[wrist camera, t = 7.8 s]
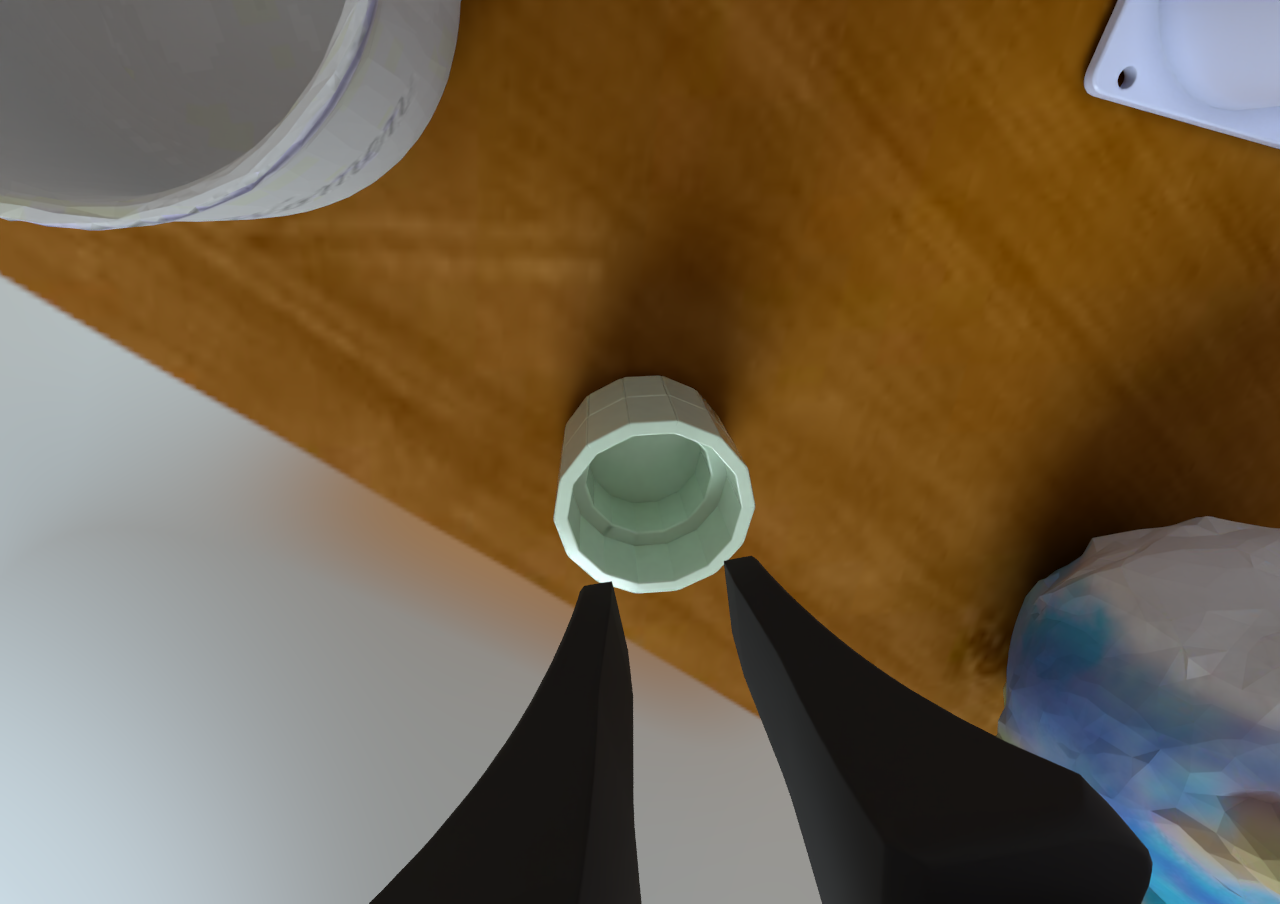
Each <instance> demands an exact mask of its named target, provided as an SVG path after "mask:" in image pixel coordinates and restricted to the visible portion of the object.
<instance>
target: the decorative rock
mask: <svg viewBox="0 0 1280 904" xmlns="http://www.w3.org/2000/svg"><path fill="white" fill-rule="evenodd" d="M1003 692H1004V710H1003V712H1002V714H1001V716H1000V718H999V720H998V734H997V735H996V737H998V738H1000V739H1002V740H1004V741H1006V742H1008V743H1010V744H1012V745H1015V746H1017V747H1019V748H1022V749H1024V750H1026V751H1028V752H1031V753H1033V754H1035V755H1037V756H1040V757H1042V758H1044V759H1047V760H1049V761H1051V762H1053V763H1056V764H1058V765H1060V766H1063V767H1065V768H1067V769H1069V770H1072V771H1074V772H1076V773H1078V774H1080V775H1081V776H1082V777H1083V778H1084V779H1085V780H1086V781H1087V782H1088V783H1089V785H1090V786H1091V787H1092V788H1093V789H1094V790H1096V791H1097V792H1098V793H1099V794H1100V795H1101V796H1102V797H1103V798H1104V799H1105V800H1106V801H1107V802H1108V803H1109V805H1110V806H1111V807H1112V808H1113V809H1114V810H1115V811H1116V812H1117V813H1118V815H1119V816H1120V817H1121V818H1122V819H1123V820H1124V821H1125V823H1126V824H1127V825H1128V826H1129V827H1130V829H1131V830H1132V831H1133V832H1134V833H1135V835H1136V836H1137V837H1138V838H1139V839H1140V840H1141V842H1142V843H1143V844H1144V845H1145V846H1146V848H1147V849H1148V851H1149V854H1150V856H1151V859H1152V862H1153V865H1152V874H1151V879H1150V884H1149V887H1148V889H1147V891H1146V894H1145V896H1144V898H1143V901H1142V903H1141V904H1280V529H1278V528H1268V527H1262V526H1256V525H1251V524H1245V523H1239V522H1234V521H1229V520H1224V519H1219V518H1215V517H1209V516H1205V517H1196V518H1193V519H1190V520H1187V521H1184V522H1181V523H1178V524H1175V525H1171V526H1166V527H1160V528H1148V529H1138V530H1133V531H1128V532H1122V533H1117V534H1111V535H1106V536H1101V537H1095V538H1092V539H1091V541H1090V543H1089V545H1088V546H1087V548H1086V550H1085V552H1084V553H1083V554H1082V556H1081V557H1079V558H1078V559H1076V560H1075V561H1073V562H1072V563H1070V564H1069V565H1067V566H1065V567H1062V568H1060V569H1058V570H1056V571H1054V572H1053V573H1052V574H1051V575H1049V576H1048V577H1047V578H1045V579H1042V580H1039V581H1038V582H1037V583H1036V585H1035V586H1034V587H1033V588H1032V589H1031V591H1030V592H1029V593H1028V594H1027V595H1026V597H1025V599H1024V602H1023V604H1022V607H1021V609H1020V612H1019V615H1018V617H1017V620H1016V623H1015V626H1014V630H1013V634H1012V638H1011V643H1010V649H1009V655H1008V664H1007V681H1006V683H1005V686H1004V688H1003Z"/></svg>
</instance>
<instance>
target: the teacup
mask: <svg viewBox="0 0 1280 904" xmlns="http://www.w3.org/2000/svg"><path fill="white" fill-rule="evenodd" d="M460 1H462V0H0V218H3V219H6V220H9V221H27V222H31V223H35V224H40V225H44V226H49V227H65V228H77V229H84V230H108V229H118V228H127V227H137V226H149V225H156V224H162V223H168V222H173V221H192V222H200V221H224V220H247V219H259V218H269V217H279V216H287V215H292V214H297V213H302V212H307V211H311V210H314V209H318V208H321V207H324V206H327V205H330V204H332V203H335V202H337V201H340V200H343V199H345V198H348V197H350V196H352V195H353V194H355V193H357V192H358V191H360V190H362V189H364V188H365V187H367V186H369V185H371V184H372V183H374V182H375V181H376V180H378V179H379V178H380V177H381V176H383V175H384V174H385V173H386V172H387V171H389V170H390V169H391V168H392V167H393V166H394V165H396V164H397V163H398V162H399V161H400V160H401V159H402V158H403V157H404V155H405V154H406V153H407V152H408V151H409V149H410V148H411V147H412V146H413V145H414V143H415V142H416V141H417V140H418V139H419V137H420V136H421V134H422V132H423V131H424V129H425V128H426V126H427V124H428V123H429V121H430V119H431V117H432V115H433V113H434V111H435V110H436V107H437V105H438V103H439V101H440V99H441V97H442V94H443V91H444V89H445V86H446V83H447V81H448V78H449V73H450V69H451V65H452V60H453V56H454V52H455V48H456V41H457V35H458V28H459V20H460Z"/></svg>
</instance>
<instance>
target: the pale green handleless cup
mask: <svg viewBox="0 0 1280 904" xmlns="http://www.w3.org/2000/svg"><path fill="white" fill-rule="evenodd" d="M754 509H755V502H754V496H753V491H752V486H751V481H750V476H749V470H748V468H747V466H746V464H745V462H744V461H743V459H742V457H741V455H740V453H739V452H738V450H737V448H736V446H735V445H734V443H733V441H732V439H731V438H730V436H729V434H728V432H727V431H726V429H725V427H724V425H723V423H722V422H721V420H720V418H719V416H718V415H717V414H716V412H715V411H714V410H713V409H712V408H711V407H710V405H709V404H708V403H707V402H706V401H705V399H704V398H703V397H702V396H701V395H700V394H699V392H698V391H696V390H695V389H693V388H691V387H688V386H686V385H684V384H681V383H679V382H676V381H674V380H672V379H669V378H667V377H664V376H639V377H624V378H623V379H618V380H616V381H614V382H612V383H611V384H609V385H607V386H605V387H603V388H601V389H599V390H597V391H595V392H593V393H591V394H590V395H589V396H587V397H586V398H585V399H584V401H583V402H582V403H581V405H580V406H579V407H578V409H577V410H576V411H575V413H574V414H573V415H572V417H571V418H570V419H569V421H568V422H567V424H566V426H565V432H564V439H563V445H562V452H561V458H560V467H559V475H558V484H557V492H556V500H555V509H554V517H553V518H554V523H555V525H556V528H557V530H558V533H559V536H560V538H561V541H562V543H563V546H564V549H565V551H566V554H567V555H568V557H569V558H571V559H572V560H573V561H574V562H575V563H576V564H577V565H579V566H580V567H581V568H582V569H583V570H584V571H586V572H587V573H588V574H589V575H590V576H591V577H592V578H594V579H595V580H596V581H598V582H600V583H604V582H610V581H612V584H613V587H617V588H620V589H623V590H626V591H630V592H633V593H650V592H663V591H676V590H677V589H678V590H680V589H682V588H684V587H686V586H688V585H691V584H693V583H695V582H697V581H699V580H702V579H704V578H706V577H708V576H710V575H712V574H714V573H715V572H717V571H718V570H719V569H720V568H721V567H722V566H723V565H724V561H726V560H728V559H729V558H730V557H731V556H732V555H733V554H734V553H735V552H736V551H737V550H738V549H739V548H740V547H741V546H742V544H743V543H744V540H745V537H746V533H747V530H748V527H749V524H750V521H751V518H752V515H753V512H754Z"/></svg>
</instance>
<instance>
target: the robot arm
mask: <svg viewBox="0 0 1280 904" xmlns="http://www.w3.org/2000/svg"><path fill="white" fill-rule="evenodd" d="M1122 71H1123V72H1124V76H1125V77H1124V81H1123V83H1122V85H1121V86H1120V87H1119V85H1118V78H1119V75H1120V73H1121V72H1122ZM1084 87H1085V89H1086V91H1087V93H1088V94H1090V95H1092V96H1094V97H1098V98H1101V99H1105V100H1108V101H1112V102H1115V103H1119V104H1122V105H1126V106H1129V107H1133V108H1136V109H1140V110H1143V111H1147V112H1151V113H1154V114H1158V115H1161V116H1165V117H1168V118H1172V119H1175V120H1179V121H1182V122H1186V123H1189V124H1193V125H1196V126H1200V127H1203V128H1207V129H1210V130H1214V131H1217V132H1221V133H1224V134H1228V135H1231V136H1235V137H1238V138H1242V139H1245V140H1249V141H1253V142H1256V143H1260V144H1263V145H1267V146H1270V147H1274V148H1277V149H1280V0H1118V1H1117V3H1116V5H1115V8H1114V10H1113V12H1112V14H1111V17H1110V19H1109V21H1108V23H1107V26H1106V28H1105V30H1104V32H1103V35H1102V37H1101V39H1100V41H1099V44H1098V46H1097V48H1096V51H1095V53H1094V55H1093V57H1092V60H1091V62H1090V64H1089V66H1088V69H1087V71H1086V74H1085V78H1084ZM724 567H725V576H726V584H727V593H728V601H729V610H730V618H731V627H732V633H733V637H734V641H735V645H736V648H737V652H738V656H739V659H740V663H741V666H742V670H743V674H744V677H745V679H746V682H747V685H748V687H749V690H750V692H751V695H752V697H753V700H754V702H755V705H756V708H757V710H758V713H759V715H760V718H761V720H762V723H763V725H764V728H765V730H766V733H767V735H768V738H769V740H770V743H771V745H772V748H773V751H774V753H775V756H776V758H777V761H778V763H779V766H780V768H781V771H782V773H783V776H784V779H785V782H786V784H787V787H788V790H789V793H790V796H791V799H792V802H793V806H794V809H795V812H796V815H797V819H798V822H799V825H800V829H801V832H802V835H803V839H804V843H805V846H806V849H807V852H808V856H809V859H810V863H811V866H812V870H813V873H814V876H815V880H816V884H817V887H818V890H819V894H820V897H821V901H822V904H1141V903H1142V901H1143V898H1144V896H1145V894H1146V891H1147V889H1148V887H1149V884H1150V879H1151V874H1152V865H1153V862H1152V859H1151V856H1150V854H1149V851H1148V849H1147V848H1146V846H1145V845H1144V844H1143V843H1142V842H1141V840H1140V839H1139V838H1138V837H1137V836H1136V835H1135V833H1134V832H1133V831H1132V830H1131V829H1130V827H1129V826H1128V825H1127V824H1126V823H1125V821H1124V820H1123V819H1122V818H1121V817H1120V816H1119V815H1118V813H1117V812H1116V811H1115V810H1114V809H1113V808H1112V807H1111V806H1110V805H1109V803H1108V802H1107V801H1106V800H1105V799H1104V798H1103V797H1102V796H1101V795H1100V794H1099V793H1098V792H1097V791H1096V790H1094V789H1093V788H1092V787H1091V786H1090V785H1089V783H1088V782H1087V781H1086V780H1085V779H1084V778H1083V777H1082V776H1081V775H1080V774H1078V773H1076V772H1074V771H1072V770H1069V769H1067V768H1065V767H1063V766H1060V765H1058V764H1056V763H1053V762H1051V761H1049V760H1047V759H1044V758H1042V757H1040V756H1037V755H1035V754H1033V753H1031V752H1028V751H1026V750H1024V749H1022V748H1019V747H1017V746H1015V745H1012V744H1010V743H1008V742H1006V741H1004V740H1002V739H1000V738H998V737H996V736H994V735H992V734H990V733H988V732H986V731H984V730H982V729H980V728H978V727H976V726H974V725H972V724H970V723H968V722H966V721H964V720H962V719H961V718H959V717H957V716H955V715H953V714H952V713H950V712H948V711H946V710H945V709H943V708H941V707H939V706H938V705H936V704H934V703H933V702H931V701H929V700H927V699H926V698H924V697H922V696H920V695H919V694H917V693H915V692H914V691H912V690H910V689H909V688H907V687H906V686H904V685H903V684H901V683H900V682H898V681H896V680H895V679H893V678H892V677H890V676H889V675H887V674H886V673H884V672H883V671H882V670H880V669H879V668H877V667H876V666H874V665H873V664H872V663H870V662H869V661H867V660H866V659H865V658H863V657H862V656H861V655H859V654H858V653H857V652H855V651H854V650H853V649H851V648H850V647H849V646H848V645H846V644H845V643H844V642H843V641H841V640H840V639H839V638H838V637H836V636H835V635H834V634H833V633H832V632H830V631H829V630H828V629H827V628H826V627H824V626H823V625H822V624H821V623H820V622H819V621H817V620H816V619H815V618H814V617H813V616H812V615H811V614H810V613H809V612H808V611H807V610H805V609H804V608H803V607H802V606H801V605H800V604H799V603H798V602H797V601H796V600H795V599H794V598H793V597H792V596H791V595H789V594H788V593H787V592H786V590H785V589H784V588H783V587H782V586H781V585H780V584H779V583H778V582H777V581H776V580H775V579H774V578H773V577H772V576H771V575H770V574H769V573H768V572H767V571H766V569H765V568H764V567H763V566H762V565H761V564H760V563H759V561H758V560H757V559H755V558H754V557H752V556H748V557H742V558H737V559H731V560H726V561H724ZM633 806H634V805H633V693H632V683H631V674H630V666H629V656H628V649H627V645H626V640H625V636H624V632H623V627H622V623H621V619H620V614H619V610H618V605H617V601H616V597H615V592H614V588H613V584H612V581H610V582H604V583H599V584H593V585H588V586H584V587H583V588H582V590H581V591H580V594H579V597H578V600H577V603H576V606H575V609H574V612H573V614H572V617H571V620H570V622H569V624H568V627H567V629H566V632H565V634H564V636H563V639H562V641H561V643H560V645H559V648H558V650H557V652H556V654H555V656H554V659H553V661H552V663H551V665H550V667H549V669H548V671H547V673H546V675H545V677H544V678H543V680H542V682H541V684H540V686H539V688H538V690H537V692H536V694H535V695H534V697H533V699H532V701H531V703H530V704H529V706H528V708H527V709H526V711H525V713H524V714H523V716H522V718H521V720H520V721H519V723H518V724H517V726H516V728H515V729H514V731H513V732H512V734H511V735H510V737H509V738H508V740H507V741H506V743H505V744H504V746H503V747H502V749H501V750H500V751H499V753H498V754H497V756H496V757H495V759H494V760H493V762H492V763H491V764H490V766H489V767H488V768H487V770H486V771H485V773H484V774H483V775H482V777H481V778H480V779H479V781H478V782H477V784H476V785H475V786H474V787H473V789H472V790H471V791H470V792H469V794H468V795H467V796H466V797H465V799H464V800H463V801H462V802H461V804H460V805H459V806H458V807H457V808H456V809H455V811H454V812H453V813H452V814H451V816H450V817H449V818H448V819H447V820H446V821H445V823H444V824H443V825H442V826H441V828H440V829H439V830H438V831H437V832H436V833H435V835H434V836H433V837H432V838H431V839H430V840H429V841H428V843H427V844H426V845H425V846H424V847H423V848H422V849H421V850H420V851H419V852H418V854H417V855H416V856H415V857H414V858H413V859H412V860H411V861H410V862H409V863H408V864H407V865H406V866H405V867H404V868H403V869H402V870H401V871H400V872H399V873H398V874H397V875H396V876H395V878H394V879H393V880H392V881H391V882H390V883H389V884H388V885H387V886H386V887H385V888H384V889H383V890H382V891H381V892H380V893H379V894H378V895H377V896H376V897H375V898H374V899H373V900H372V901H371V902H370V903H369V904H641V894H640V884H639V873H638V861H637V851H636V840H635V828H634V807H633Z"/></svg>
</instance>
